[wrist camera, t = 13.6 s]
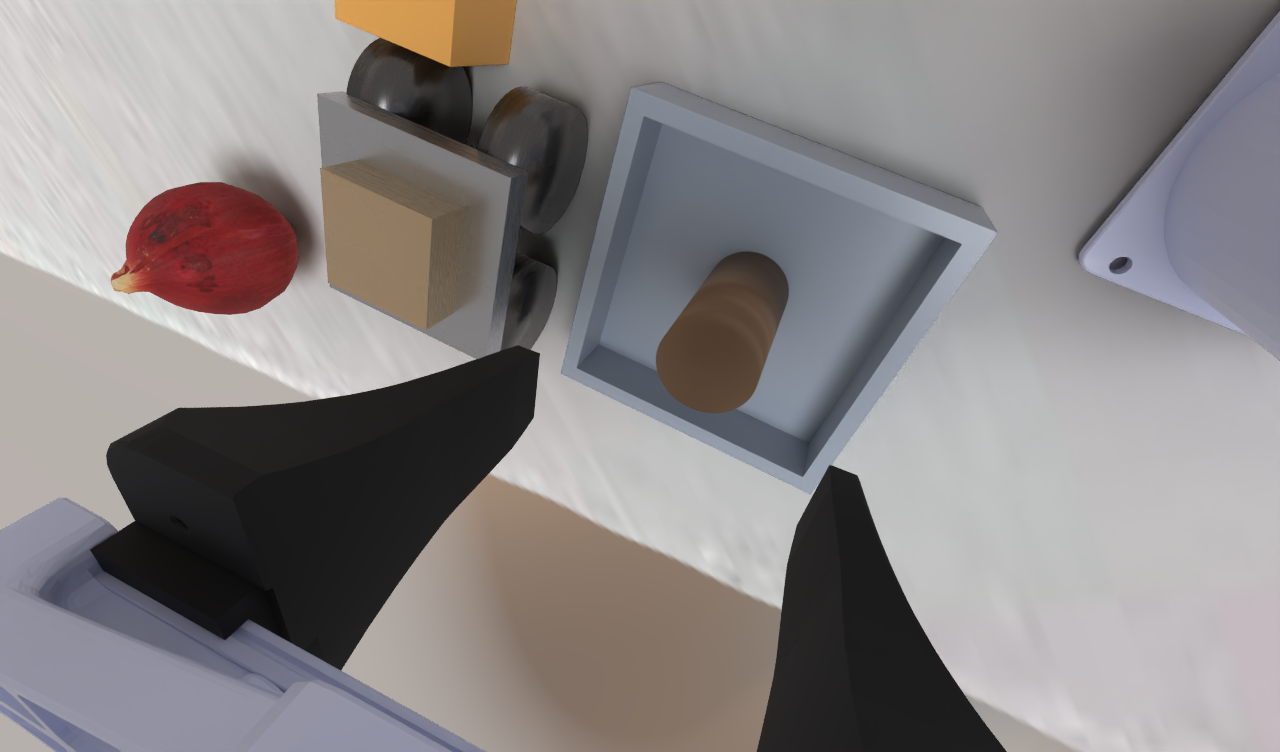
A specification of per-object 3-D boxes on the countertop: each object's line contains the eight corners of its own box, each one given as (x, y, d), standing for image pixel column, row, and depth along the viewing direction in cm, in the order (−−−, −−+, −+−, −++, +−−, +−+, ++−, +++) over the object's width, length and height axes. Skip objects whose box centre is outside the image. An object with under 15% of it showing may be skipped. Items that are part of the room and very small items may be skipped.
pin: (800, 265, 19) (773, 341, 14) (774, 338, 21) (742, 427, 16) (719, 241, 20) (666, 306, 15) (700, 313, 21) (647, 392, 17)
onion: (255, 142, 26) (50, 174, 20) (349, 226, 27) (180, 284, 20) (237, 229, 29) (59, 281, 23) (321, 303, 30) (169, 373, 24)
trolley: (599, 101, 19) (488, 124, 14) (548, 337, 25) (456, 418, 20) (433, 34, 20) (267, 31, 15) (422, 277, 26) (301, 338, 21)
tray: (982, 207, 17) (998, 232, 15) (817, 451, 23) (810, 494, 21) (661, 82, 18) (631, 87, 16) (589, 343, 25) (560, 373, 23)
